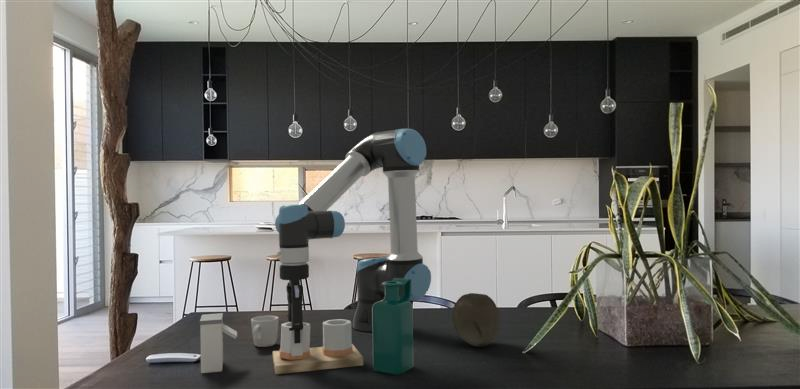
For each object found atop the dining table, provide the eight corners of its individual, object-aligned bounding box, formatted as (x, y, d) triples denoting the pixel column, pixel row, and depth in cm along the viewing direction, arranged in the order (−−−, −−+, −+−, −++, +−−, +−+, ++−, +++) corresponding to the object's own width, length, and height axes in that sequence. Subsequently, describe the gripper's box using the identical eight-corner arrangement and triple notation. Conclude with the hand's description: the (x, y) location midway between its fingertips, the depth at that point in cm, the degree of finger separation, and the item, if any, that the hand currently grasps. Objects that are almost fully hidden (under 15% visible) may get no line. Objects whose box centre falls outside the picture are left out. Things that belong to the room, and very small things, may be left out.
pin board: (352, 351, 154) (352, 319, 154) (363, 365, 141) (362, 330, 141) (272, 358, 148) (272, 325, 148) (275, 374, 135) (275, 337, 135)
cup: (267, 352, 155) (267, 323, 155) (241, 351, 157) (241, 322, 157) (283, 342, 166) (283, 315, 166) (258, 341, 167) (258, 315, 167)
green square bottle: (398, 376, 132) (397, 284, 132) (369, 371, 136) (368, 282, 136) (419, 365, 140) (417, 279, 140) (391, 360, 144) (389, 277, 145)
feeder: (237, 360, 147) (236, 312, 147) (237, 369, 139) (236, 318, 139) (202, 364, 144) (202, 314, 145) (200, 373, 137) (199, 321, 137)
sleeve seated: (348, 347, 151) (348, 318, 151) (354, 354, 144) (353, 324, 144) (321, 350, 149) (320, 320, 149) (325, 357, 141) (324, 326, 142)
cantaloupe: (510, 344, 159) (509, 292, 159) (482, 355, 148) (481, 299, 148) (470, 336, 168) (469, 287, 168) (441, 346, 158) (440, 294, 158)
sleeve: (307, 351, 148) (308, 321, 148) (310, 358, 140) (312, 327, 141) (278, 352, 146) (280, 321, 146) (280, 360, 138) (282, 328, 139)
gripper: (277, 260, 152) (278, 342, 152) (282, 268, 132) (283, 363, 132) (304, 258, 154) (305, 340, 154) (313, 267, 134) (315, 360, 134)
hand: (295, 350), depth 143 cm, fingers open, 8 cm apart
